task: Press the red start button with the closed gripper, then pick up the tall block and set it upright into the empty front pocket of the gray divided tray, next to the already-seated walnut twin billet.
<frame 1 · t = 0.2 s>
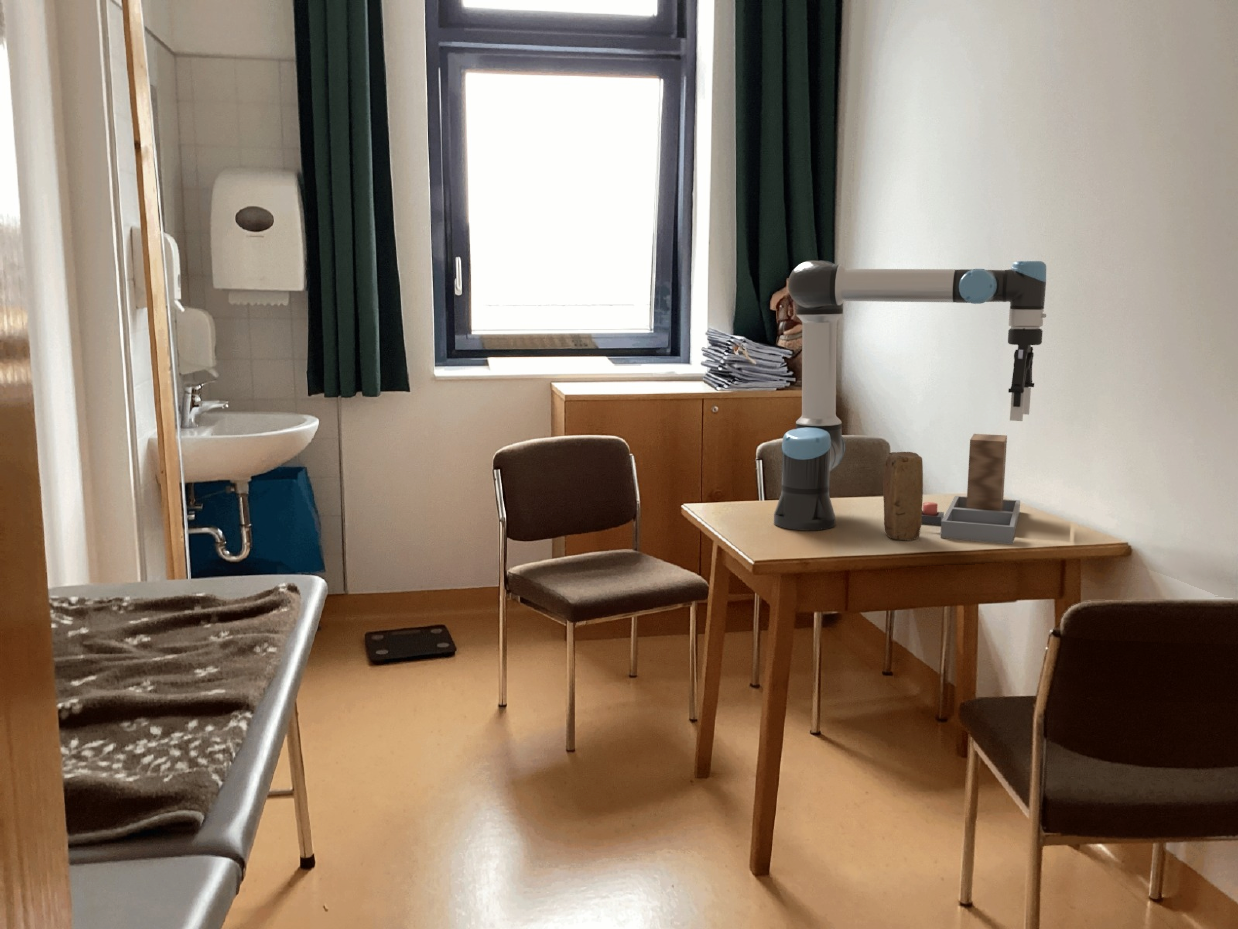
hand: (1019, 417, 250), 27 cm above the table, fingers open, 13 cm apart
button housing: (929, 525, 259), on the table
start button: (930, 510, 259), point 4 cm above the table, slide at 0.0 cm
block: (900, 537, 249), on the table
seated billet: (984, 515, 265), point 1 cm above the table, touching gray divided tray
gray divided tray: (981, 526, 258), on the table
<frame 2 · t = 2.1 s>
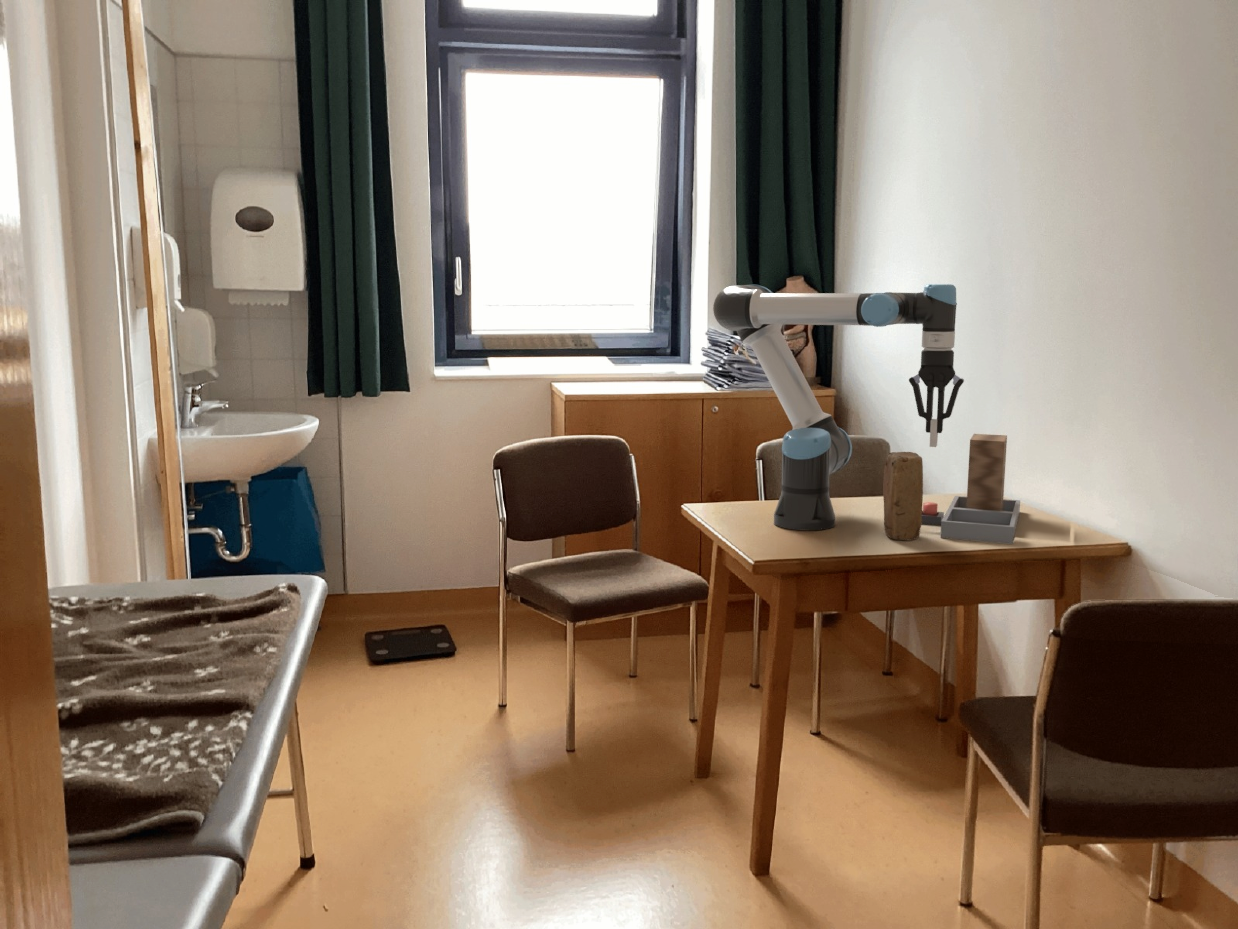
hand: (933, 446, 256), 20 cm above the table, fingers closed
nothing on the table moved.
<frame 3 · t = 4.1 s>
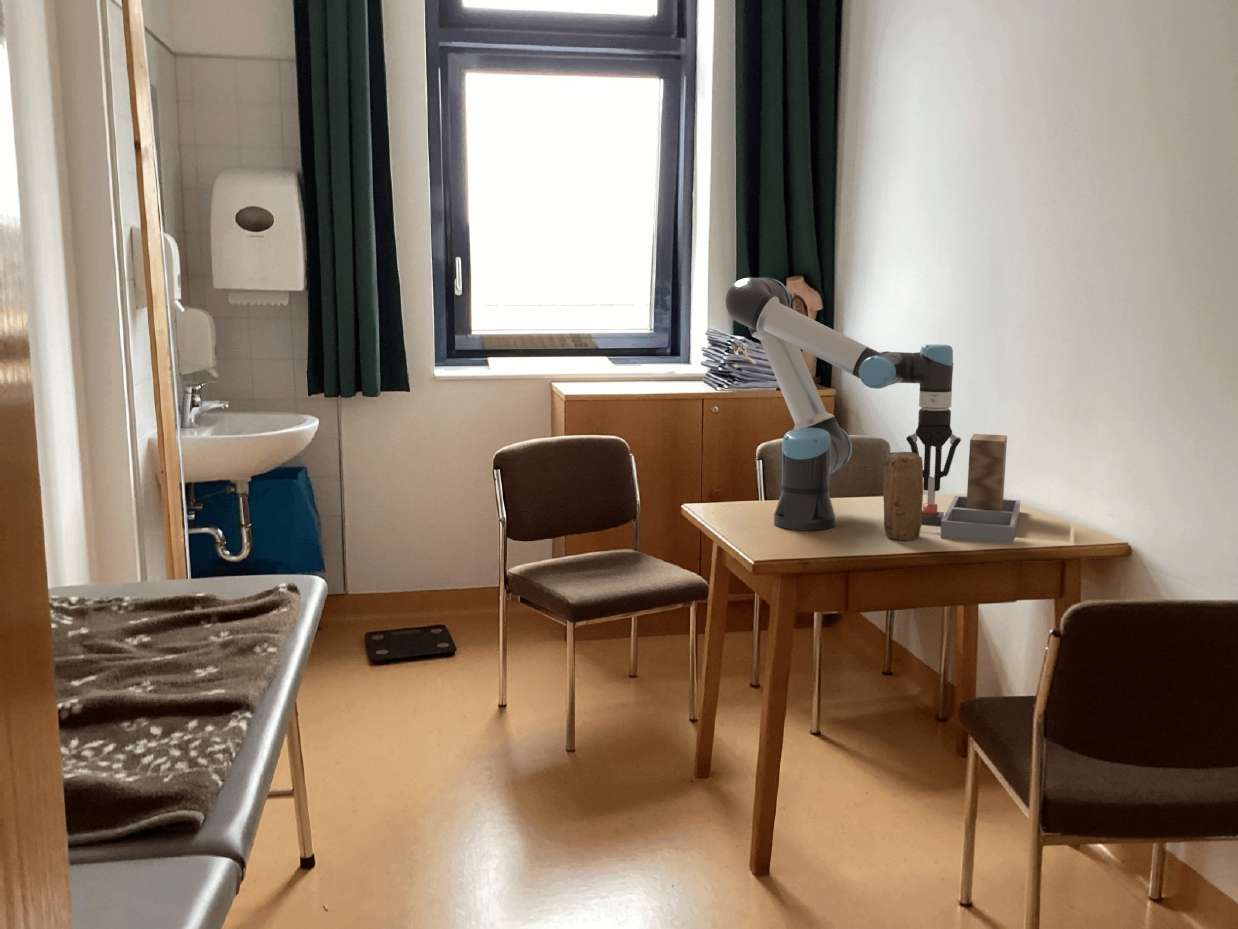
hand: (931, 503, 258), 6 cm above the table, fingers closed
start button: (930, 511, 259), point 4 cm above the table, slide at 0.2 cm, touching gripper
everything else where it was.
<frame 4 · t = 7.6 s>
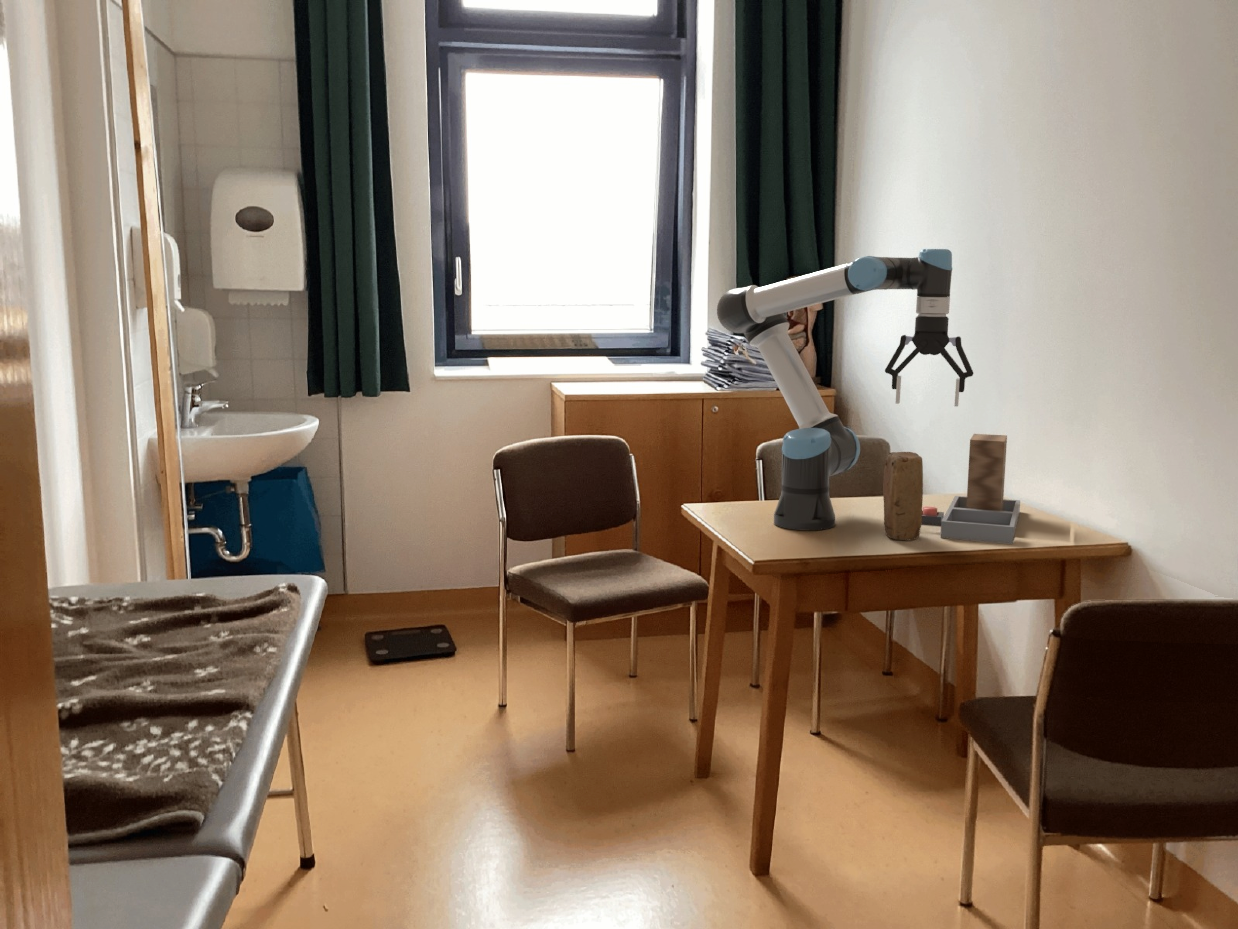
hand: (926, 404, 252), 30 cm above the table, fingers open, 13 cm apart
start button: (929, 515, 259), point 3 cm above the table, slide at 1.1 cm
everything else where it was.
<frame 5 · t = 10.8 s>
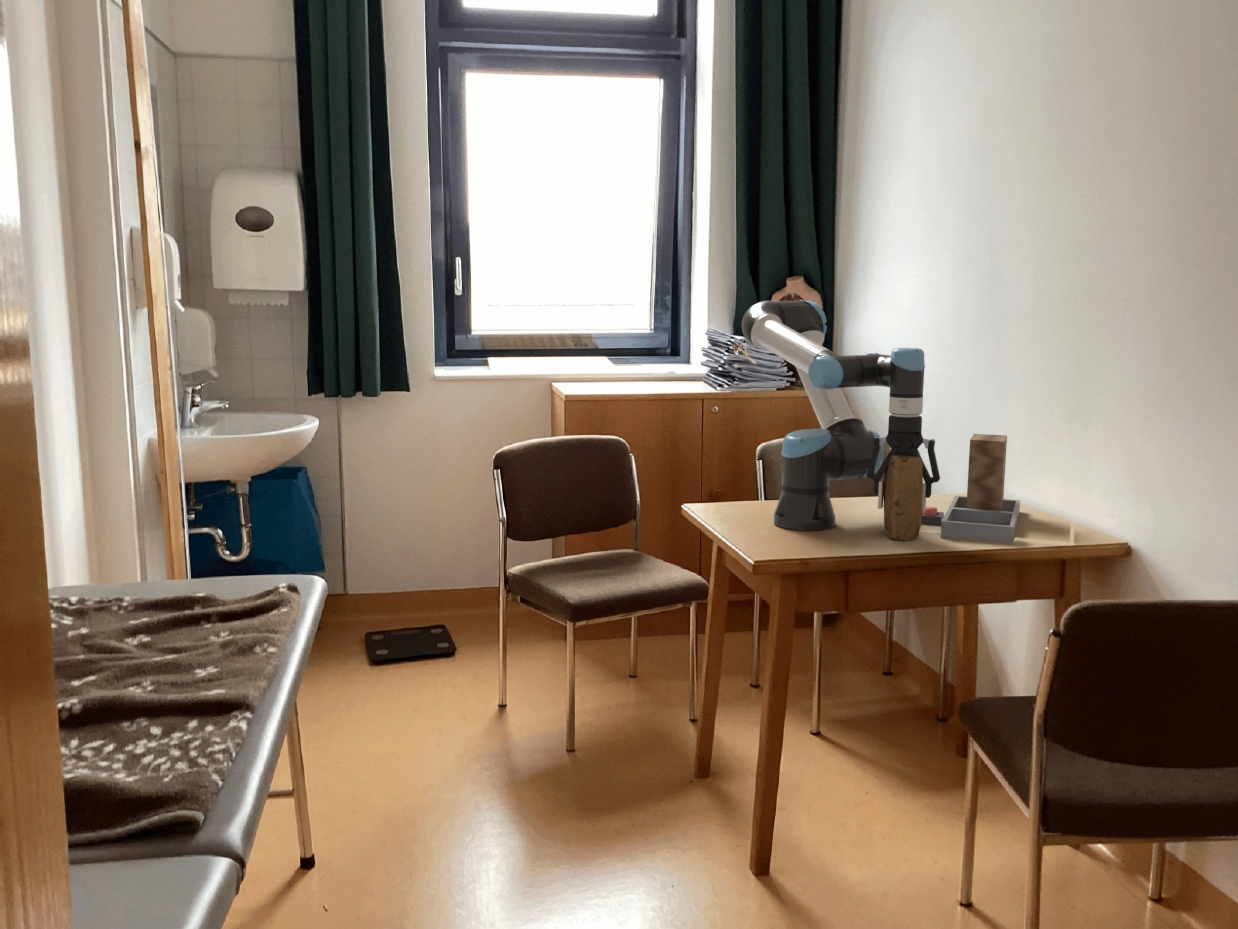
hand: (901, 509, 247), 7 cm above the table, fingers closed on block, 9 cm apart
block: (900, 537, 249), on the table, touching gripper
everything else where it was.
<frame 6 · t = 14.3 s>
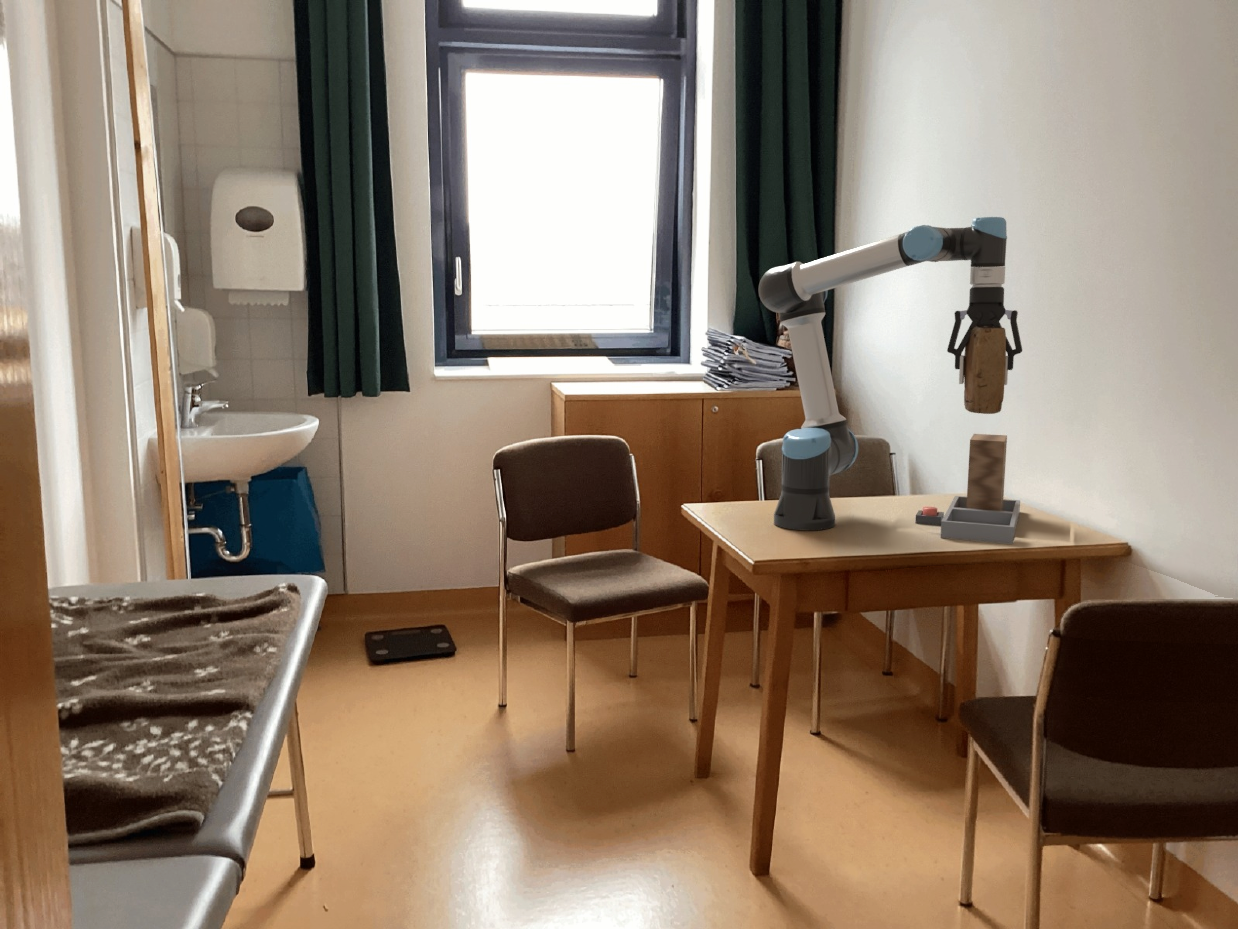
hand: (983, 383, 244), 36 cm above the table, fingers closed on block, 9 cm apart
block: (981, 412, 245), point 29 cm above the table, touching gripper
everything else where it was.
when the fingers open (9 cm above the table, at t = 18.1 s): block drops 1 cm, resting on gray divided tray.
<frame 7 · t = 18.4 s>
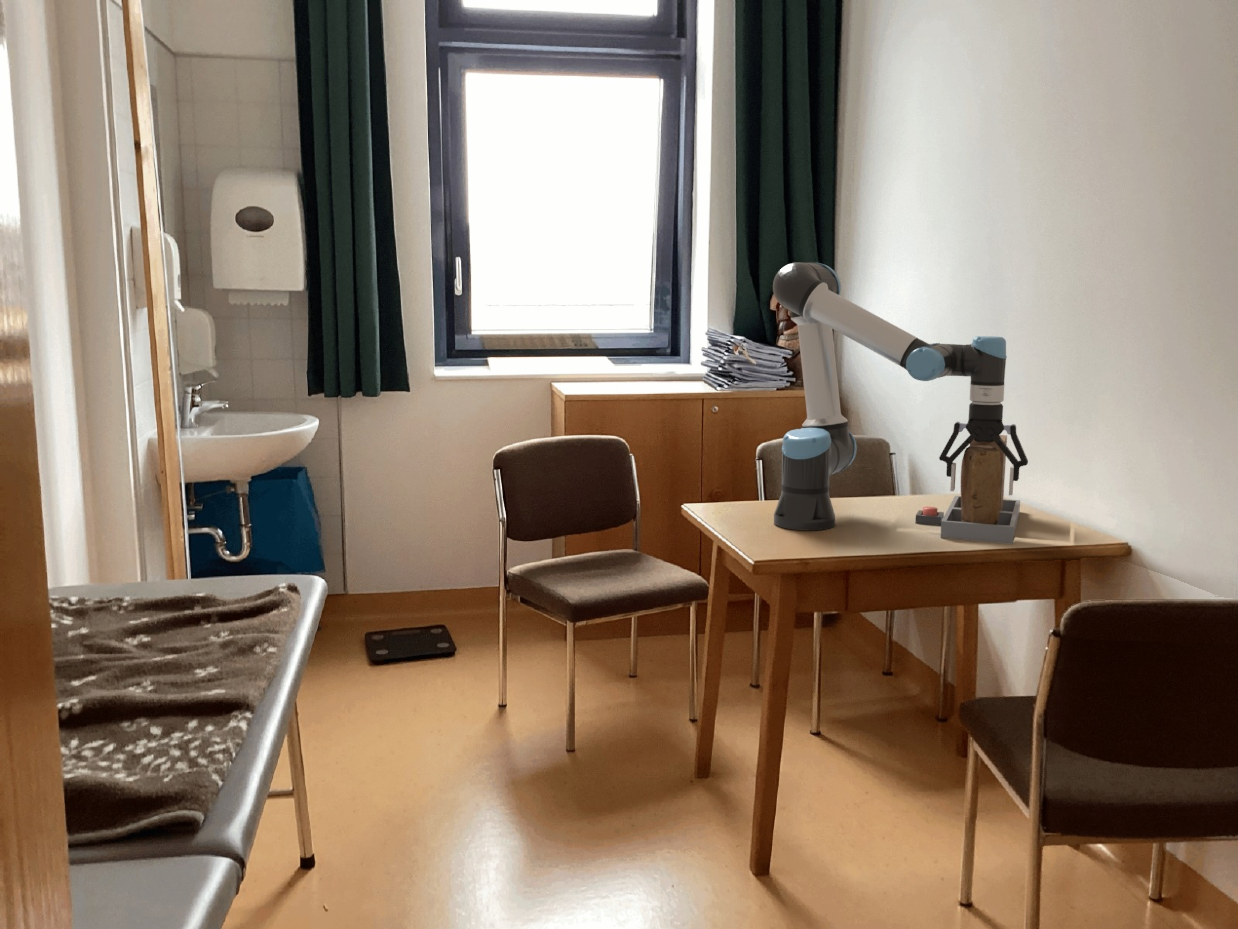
hand: (981, 492, 249), 10 cm above the table, fingers open, 12 cm apart
block: (977, 530, 251), point 1 cm above the table, touching gray divided tray
everything else where it was.
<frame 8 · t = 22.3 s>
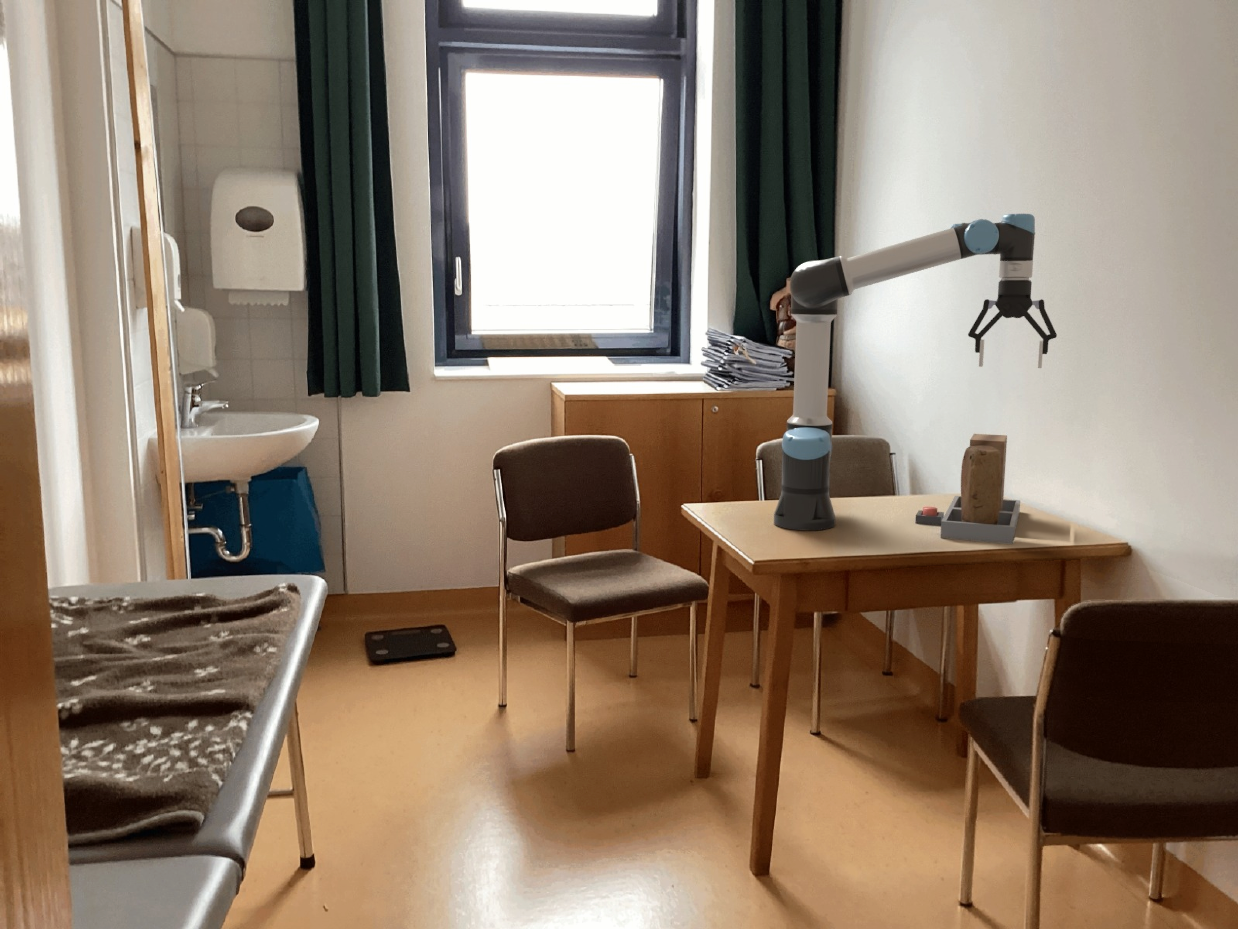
hand: (1010, 367, 257), 39 cm above the table, fingers open, 13 cm apart
nothing on the table moved.
at the end: block inside the target area on the gray divided tray (0.4 cm from its centre), point 0.8 cm above the gray divided tray's base; block tilted 0°; start button slide at 1.1 cm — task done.
